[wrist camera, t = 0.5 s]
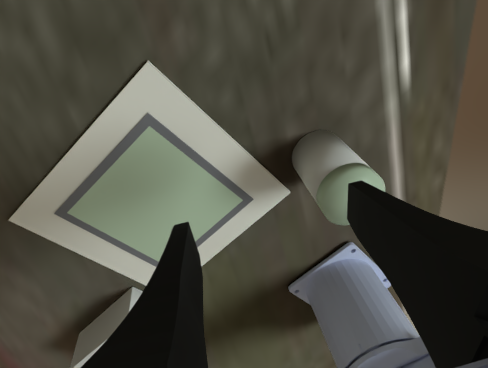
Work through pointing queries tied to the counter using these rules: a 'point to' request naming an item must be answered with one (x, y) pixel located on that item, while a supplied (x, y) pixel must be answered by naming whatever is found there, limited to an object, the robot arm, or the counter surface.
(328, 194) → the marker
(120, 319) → the button housing
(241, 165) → the picture board
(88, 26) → the counter surface
